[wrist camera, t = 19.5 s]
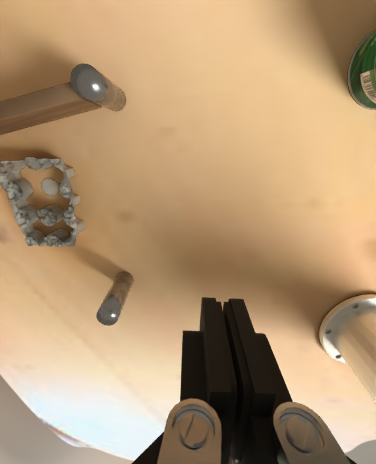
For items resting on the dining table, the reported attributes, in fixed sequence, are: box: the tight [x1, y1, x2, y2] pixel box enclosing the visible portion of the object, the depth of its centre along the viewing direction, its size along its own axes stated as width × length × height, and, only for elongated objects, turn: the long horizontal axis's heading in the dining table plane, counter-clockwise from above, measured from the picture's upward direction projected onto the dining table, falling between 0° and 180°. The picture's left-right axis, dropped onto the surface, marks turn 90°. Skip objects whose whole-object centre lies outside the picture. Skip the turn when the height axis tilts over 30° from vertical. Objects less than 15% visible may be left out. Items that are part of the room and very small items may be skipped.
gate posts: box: [71, 64, 133, 325], centre depth 27 cm, size 2×25×8 cm, turn 178°
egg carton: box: [0, 157, 85, 247], centre depth 29 cm, size 11×8×4 cm
